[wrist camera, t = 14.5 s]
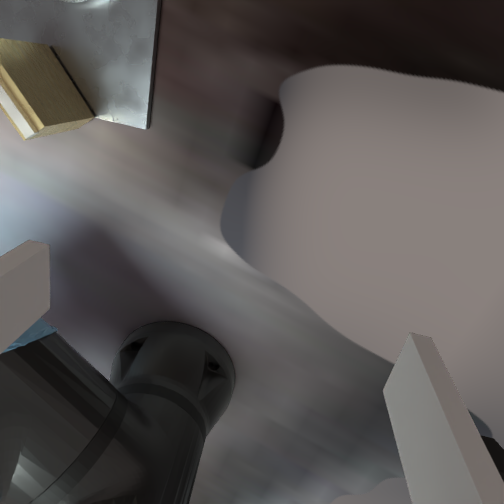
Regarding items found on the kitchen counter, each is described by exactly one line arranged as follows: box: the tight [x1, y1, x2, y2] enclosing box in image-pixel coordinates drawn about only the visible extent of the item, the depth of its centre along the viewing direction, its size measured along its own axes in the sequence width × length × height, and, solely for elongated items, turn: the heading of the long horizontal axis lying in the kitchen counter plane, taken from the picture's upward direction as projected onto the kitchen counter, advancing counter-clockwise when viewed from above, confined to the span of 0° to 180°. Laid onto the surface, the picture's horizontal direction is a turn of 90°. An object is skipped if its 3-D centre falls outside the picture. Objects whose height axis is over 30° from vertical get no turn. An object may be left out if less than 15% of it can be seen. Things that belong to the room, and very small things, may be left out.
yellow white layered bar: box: [0, 38, 94, 141], centre depth 33 cm, size 7×2×9 cm, turn 29°
